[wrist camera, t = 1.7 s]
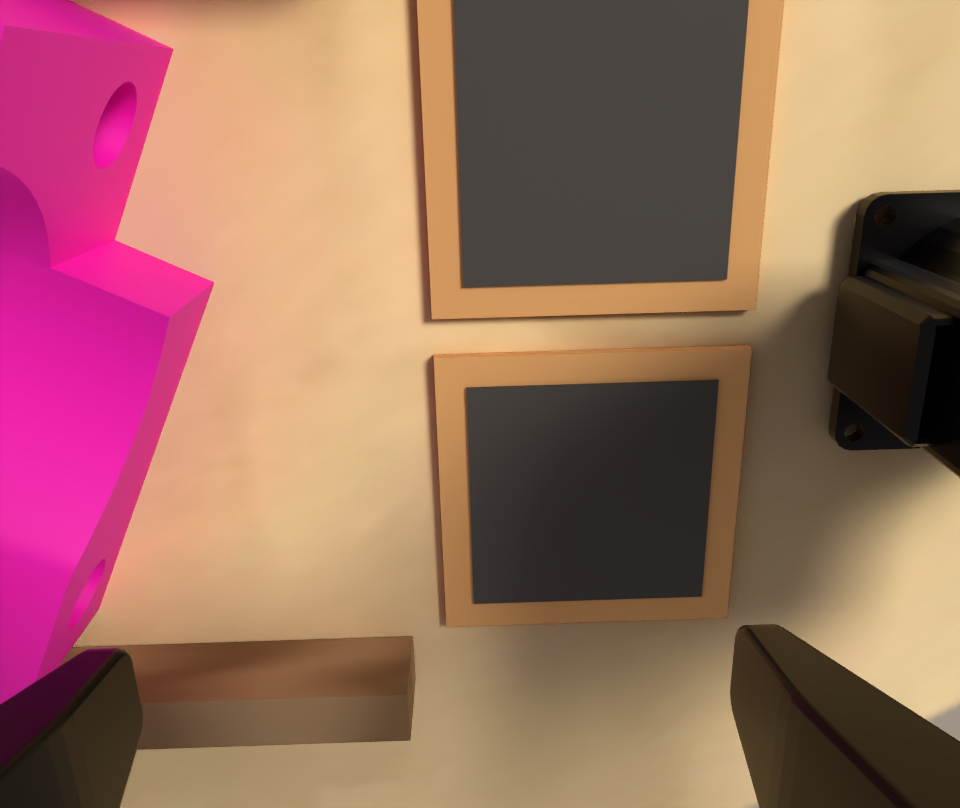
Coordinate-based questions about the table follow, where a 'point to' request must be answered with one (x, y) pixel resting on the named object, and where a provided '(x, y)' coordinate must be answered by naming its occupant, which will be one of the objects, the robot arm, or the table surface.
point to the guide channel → (273, 692)
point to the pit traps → (593, 295)
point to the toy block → (75, 320)
